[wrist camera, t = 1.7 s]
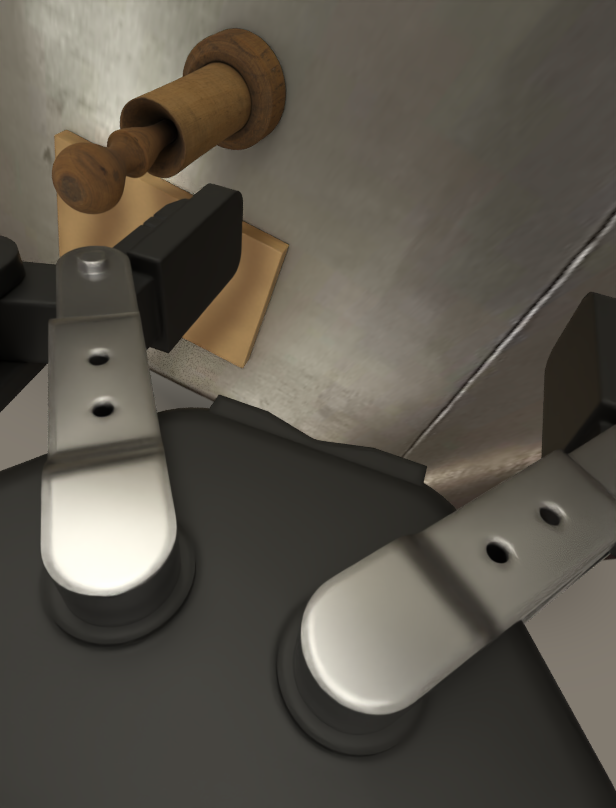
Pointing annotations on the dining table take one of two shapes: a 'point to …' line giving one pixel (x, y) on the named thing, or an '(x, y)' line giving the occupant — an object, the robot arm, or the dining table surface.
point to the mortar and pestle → (180, 121)
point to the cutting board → (233, 307)
